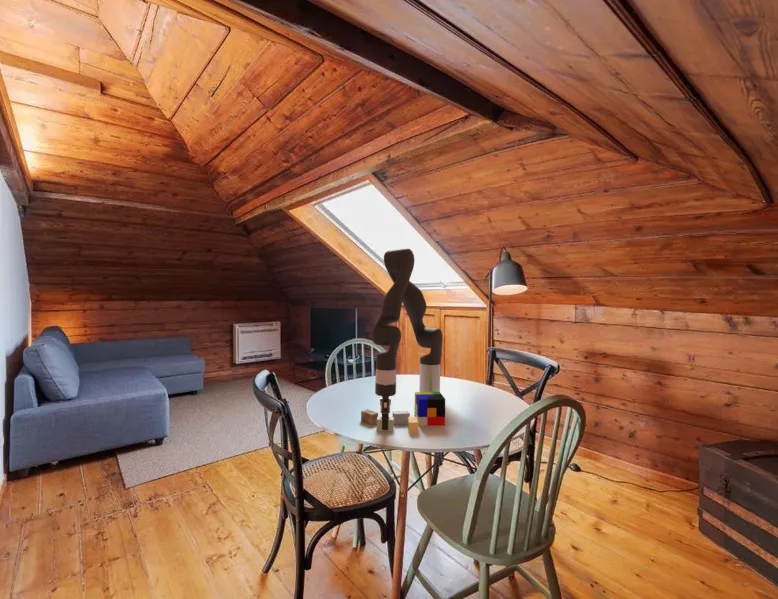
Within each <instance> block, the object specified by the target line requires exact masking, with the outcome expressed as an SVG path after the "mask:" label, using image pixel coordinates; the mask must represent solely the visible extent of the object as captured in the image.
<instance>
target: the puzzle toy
mask: <svg viewBox="0 0 778 599" xmlns="http://www.w3.org/2000/svg"><path fill="white" fill-rule="evenodd" d="M413 415H414V416H413V417H417V420H418V427H422V426H424V427H427V426H429V427H430V426H446V398H445V397H444V395H443V394H442V393H441V391H440V392H419V391H415V392H414V414H413Z"/></svg>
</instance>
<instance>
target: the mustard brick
mask: <svg viewBox="0 0 778 599" xmlns="http://www.w3.org/2000/svg"><path fill="white" fill-rule="evenodd" d="M407 429H408V434H419V426H418V420H417V417H414V416H410V417H408V424H407Z"/></svg>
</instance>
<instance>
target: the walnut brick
mask: <svg viewBox="0 0 778 599" xmlns="http://www.w3.org/2000/svg"><path fill="white" fill-rule="evenodd" d="M360 416H361V417H360V421H361V422H363V423H365V424H369V425H370V426H373V425H377V417H379V413H378V412H377V411H374V410H371V409H368V408H367V409H363V410H361V412H360Z"/></svg>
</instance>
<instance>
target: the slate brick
mask: <svg viewBox="0 0 778 599" xmlns="http://www.w3.org/2000/svg"><path fill="white" fill-rule="evenodd" d="M391 414H392V416H391V417H394V425H403V424H404V425H408V417H411V414H410V412H409V410H394V411H392V413H391Z"/></svg>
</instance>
